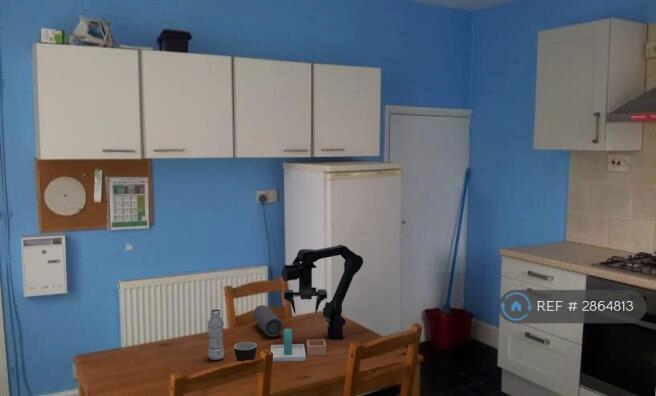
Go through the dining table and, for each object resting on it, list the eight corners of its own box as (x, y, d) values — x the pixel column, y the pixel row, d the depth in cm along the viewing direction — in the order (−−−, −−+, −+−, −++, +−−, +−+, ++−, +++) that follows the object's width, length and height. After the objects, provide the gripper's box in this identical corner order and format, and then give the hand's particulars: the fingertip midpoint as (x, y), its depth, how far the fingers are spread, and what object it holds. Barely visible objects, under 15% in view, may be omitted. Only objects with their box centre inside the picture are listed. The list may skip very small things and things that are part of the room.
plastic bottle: (227, 356, 222) (226, 309, 220) (218, 363, 215) (218, 313, 214) (213, 354, 224) (212, 307, 222) (204, 360, 218) (203, 312, 216)
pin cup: (324, 348, 232) (324, 339, 231) (326, 355, 224) (326, 345, 224) (306, 349, 231) (306, 339, 231) (307, 355, 223) (307, 346, 223)
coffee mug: (252, 376, 202) (252, 350, 202) (230, 374, 204) (230, 349, 203) (262, 364, 214) (262, 340, 213) (241, 363, 216) (241, 338, 215)
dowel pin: (291, 351, 226) (291, 328, 225) (292, 354, 223) (292, 331, 222) (283, 352, 226) (283, 328, 225) (283, 355, 222) (283, 331, 222)
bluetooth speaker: (251, 325, 262) (251, 304, 261) (270, 323, 266) (270, 303, 265) (263, 340, 241) (263, 318, 240) (283, 338, 244) (283, 316, 244)
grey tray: (303, 348, 232) (303, 344, 232) (305, 360, 218) (305, 356, 218) (271, 349, 231) (270, 345, 230) (270, 361, 217) (270, 357, 217)
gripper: (284, 283, 228) (284, 319, 229) (328, 282, 229) (328, 318, 231) (283, 277, 239) (283, 311, 240) (326, 276, 240) (325, 310, 242)
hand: (305, 313), depth 238 cm, fingers open, 9 cm apart
